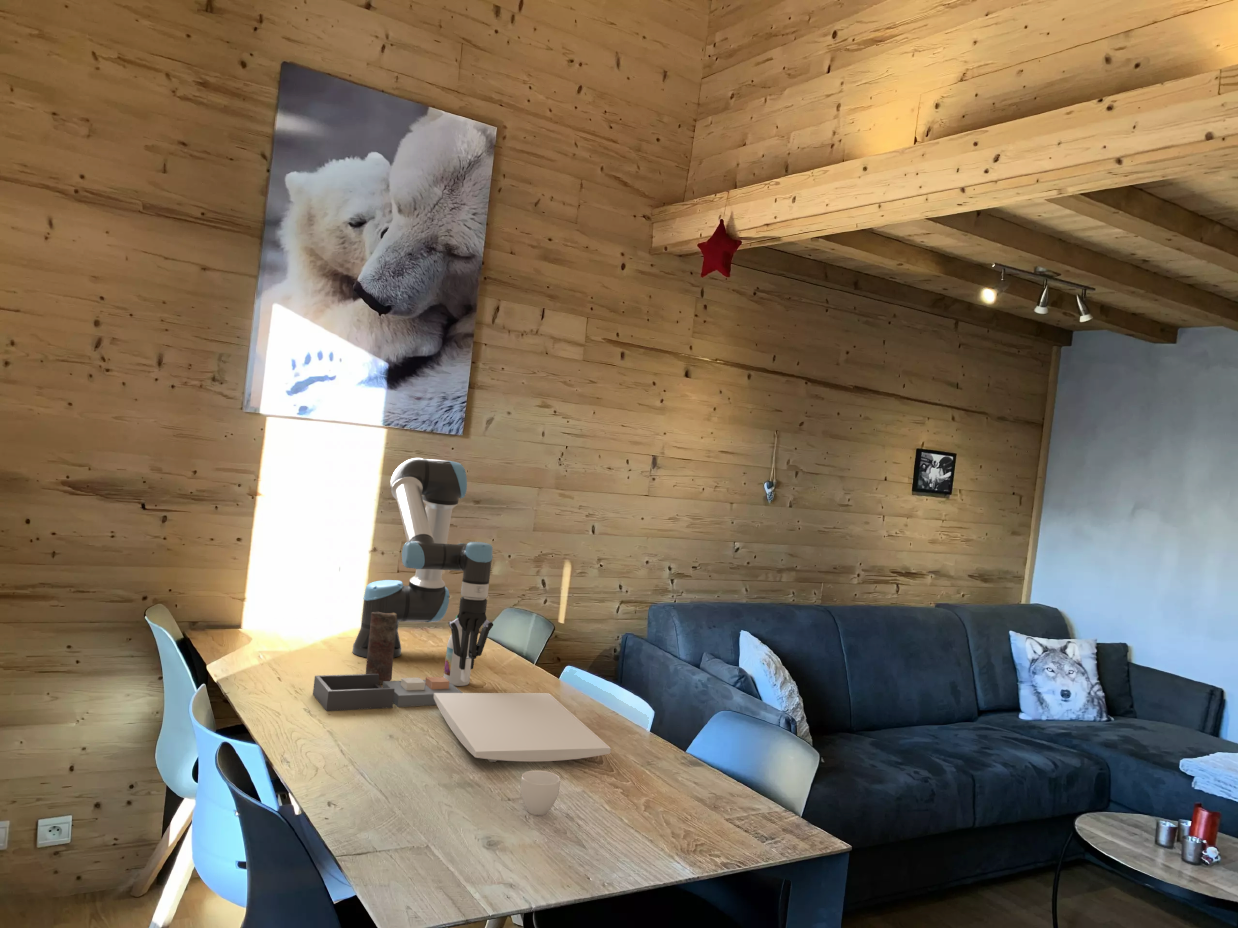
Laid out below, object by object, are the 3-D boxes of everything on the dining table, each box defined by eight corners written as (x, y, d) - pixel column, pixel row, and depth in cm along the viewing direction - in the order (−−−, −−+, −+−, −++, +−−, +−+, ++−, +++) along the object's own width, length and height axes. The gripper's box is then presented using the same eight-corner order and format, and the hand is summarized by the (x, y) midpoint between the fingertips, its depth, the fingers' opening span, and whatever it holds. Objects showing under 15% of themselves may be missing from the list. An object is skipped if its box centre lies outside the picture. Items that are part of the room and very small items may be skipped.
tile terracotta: (425, 684, 250) (426, 677, 250) (442, 683, 253) (443, 676, 253) (431, 689, 246) (432, 681, 246) (448, 688, 248) (449, 681, 248)
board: (432, 710, 238) (433, 692, 238) (546, 709, 250) (548, 692, 250) (473, 772, 196) (475, 751, 196) (608, 767, 209) (610, 747, 209)
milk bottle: (472, 681, 269) (479, 615, 269) (465, 688, 262) (472, 619, 262) (447, 678, 270) (454, 612, 270) (439, 684, 262) (447, 616, 262)
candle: (358, 680, 257) (366, 611, 257) (374, 676, 264) (382, 608, 263) (380, 686, 254) (388, 615, 254) (396, 681, 261) (404, 612, 261)
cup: (530, 821, 173) (534, 786, 173) (505, 801, 182) (509, 768, 181) (564, 815, 178) (567, 781, 178) (538, 796, 186) (541, 764, 186)
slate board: (382, 691, 248) (383, 681, 248) (444, 689, 258) (445, 678, 258) (397, 706, 236) (398, 695, 236) (461, 703, 246) (463, 692, 246)
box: (312, 694, 239) (314, 675, 239) (376, 691, 248) (378, 673, 248) (326, 710, 226) (328, 691, 226) (392, 707, 235) (394, 688, 235)
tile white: (400, 685, 246) (401, 677, 246) (418, 684, 249) (419, 677, 249) (406, 690, 242) (407, 682, 242) (424, 689, 245) (425, 682, 245)
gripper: (457, 599, 247) (447, 685, 247) (500, 600, 253) (491, 683, 254) (447, 594, 253) (438, 677, 253) (490, 595, 260) (480, 676, 260)
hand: (464, 680), depth 253 cm, fingers closed
